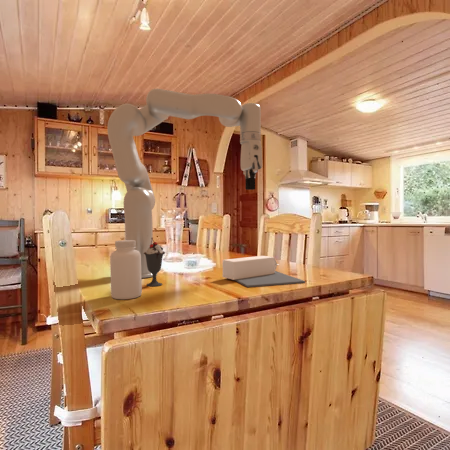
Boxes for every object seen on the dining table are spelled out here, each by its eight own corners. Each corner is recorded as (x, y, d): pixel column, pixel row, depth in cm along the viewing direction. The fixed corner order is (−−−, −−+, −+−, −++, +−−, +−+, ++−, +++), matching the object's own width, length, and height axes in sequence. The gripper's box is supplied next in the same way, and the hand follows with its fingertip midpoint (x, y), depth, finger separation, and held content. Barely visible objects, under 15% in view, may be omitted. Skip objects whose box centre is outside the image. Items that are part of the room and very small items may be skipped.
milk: (233, 261, 109) (280, 256, 122) (222, 259, 114) (268, 254, 127) (233, 280, 109) (280, 272, 122) (222, 277, 114) (268, 270, 127)
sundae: (146, 288, 100) (146, 238, 99) (141, 284, 106) (140, 236, 105) (168, 285, 103) (167, 237, 102) (161, 282, 109) (161, 236, 108)
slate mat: (247, 287, 101) (247, 285, 101) (225, 275, 120) (225, 274, 120) (305, 282, 107) (305, 281, 107) (275, 272, 126) (275, 270, 126)
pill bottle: (114, 293, 94) (114, 239, 93) (143, 292, 94) (143, 239, 94) (107, 300, 86) (106, 242, 85) (139, 299, 87) (138, 241, 86)
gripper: (268, 135, 116) (268, 188, 117) (251, 143, 130) (251, 191, 131) (249, 133, 114) (249, 187, 114) (233, 142, 128) (233, 190, 129)
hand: (250, 189), depth 123 cm, fingers closed
